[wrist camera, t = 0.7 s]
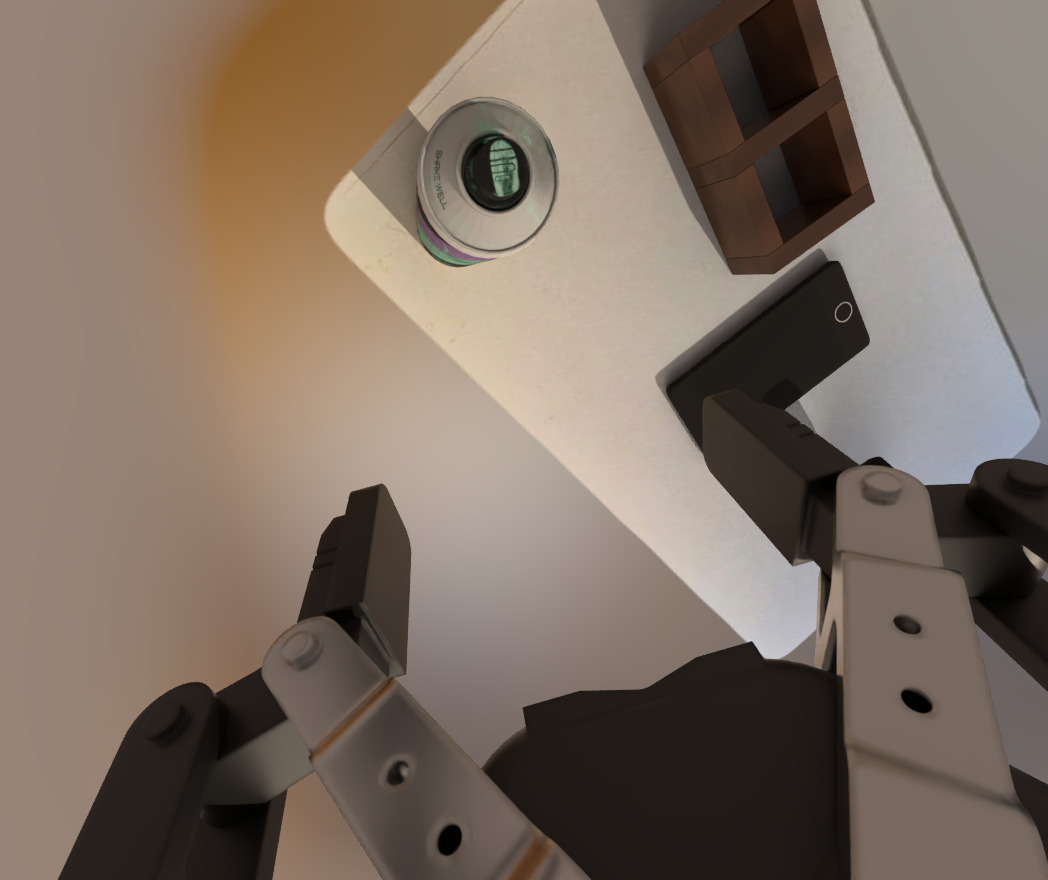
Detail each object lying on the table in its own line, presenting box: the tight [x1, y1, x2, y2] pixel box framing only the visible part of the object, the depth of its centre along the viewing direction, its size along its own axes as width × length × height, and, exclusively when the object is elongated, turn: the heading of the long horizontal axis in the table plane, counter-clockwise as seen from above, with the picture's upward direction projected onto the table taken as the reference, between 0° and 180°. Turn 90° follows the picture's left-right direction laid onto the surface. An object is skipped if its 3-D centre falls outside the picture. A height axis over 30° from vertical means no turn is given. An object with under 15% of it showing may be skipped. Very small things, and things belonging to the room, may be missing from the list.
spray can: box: [417, 97, 559, 267], centre depth 25 cm, size 6×6×20 cm
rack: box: [643, 0, 875, 275], centre depth 34 cm, size 16×9×5 cm, turn 34°
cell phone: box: [666, 261, 870, 452], centre depth 42 cm, size 9×18×1 cm, turn 126°
